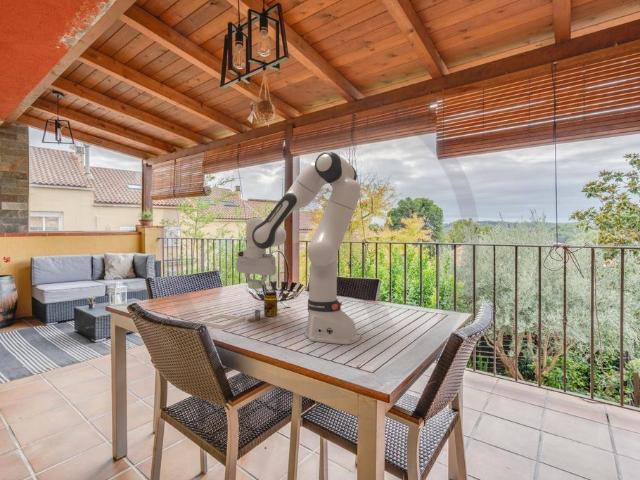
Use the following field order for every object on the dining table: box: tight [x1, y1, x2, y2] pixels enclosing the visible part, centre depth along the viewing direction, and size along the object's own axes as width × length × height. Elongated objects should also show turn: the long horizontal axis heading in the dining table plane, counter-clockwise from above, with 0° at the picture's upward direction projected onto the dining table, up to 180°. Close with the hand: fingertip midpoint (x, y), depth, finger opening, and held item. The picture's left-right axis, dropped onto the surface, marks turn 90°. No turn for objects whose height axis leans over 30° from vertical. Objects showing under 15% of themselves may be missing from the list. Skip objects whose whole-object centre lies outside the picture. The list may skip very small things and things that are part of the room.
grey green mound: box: [247, 309, 268, 324], centre depth 156 cm, size 9×9×5 cm
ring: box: [247, 279, 263, 290], centre depth 155 cm, size 6×6×3 cm
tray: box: [197, 313, 246, 330], centre depth 151 cm, size 14×14×2 cm
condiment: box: [263, 291, 278, 318], centre depth 165 cm, size 7×8×12 cm
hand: (255, 283), depth 155 cm, fingers closed on ring, 6 cm apart
